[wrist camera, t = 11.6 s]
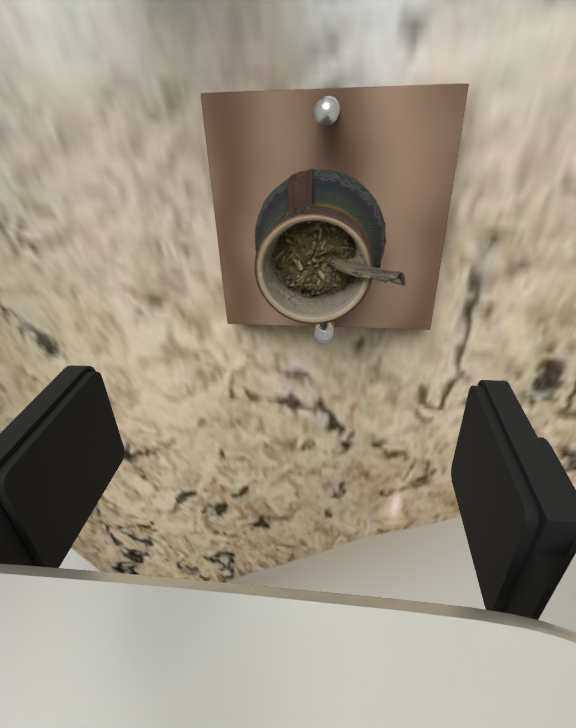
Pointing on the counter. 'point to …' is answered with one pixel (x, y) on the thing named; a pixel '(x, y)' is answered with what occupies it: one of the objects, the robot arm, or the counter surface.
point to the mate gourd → (319, 246)
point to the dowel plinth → (345, 155)
